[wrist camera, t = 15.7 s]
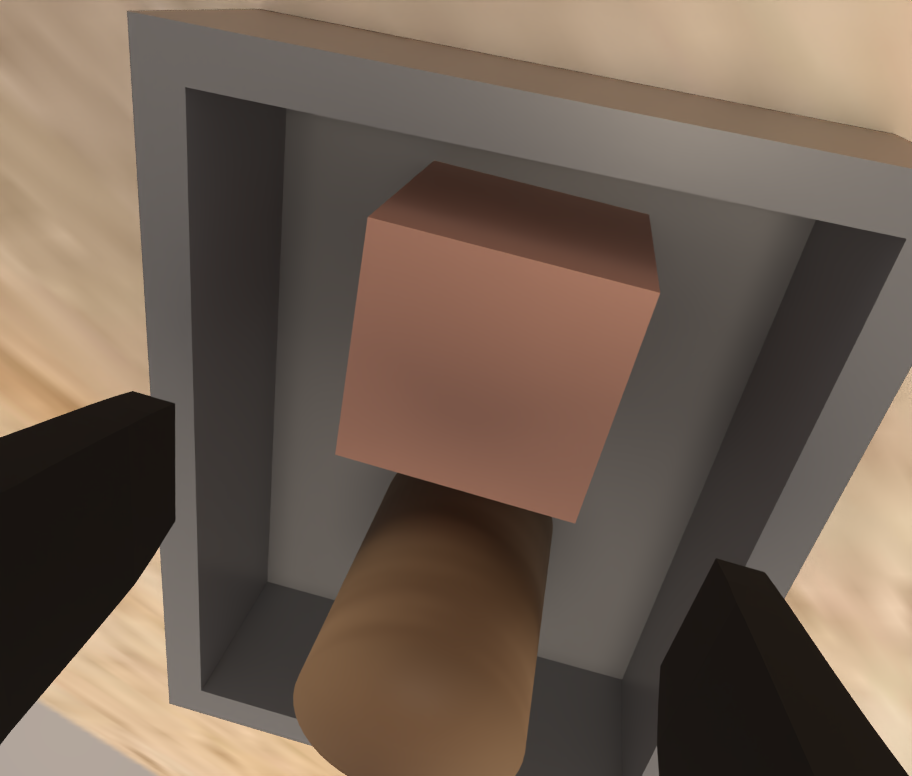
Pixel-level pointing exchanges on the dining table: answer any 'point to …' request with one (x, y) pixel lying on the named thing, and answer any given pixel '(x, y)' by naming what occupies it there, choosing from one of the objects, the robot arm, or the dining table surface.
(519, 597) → the walnut cylinder
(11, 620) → the robot arm
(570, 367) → the cube
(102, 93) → the dining table surface
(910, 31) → the dining table surface
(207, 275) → the tote
